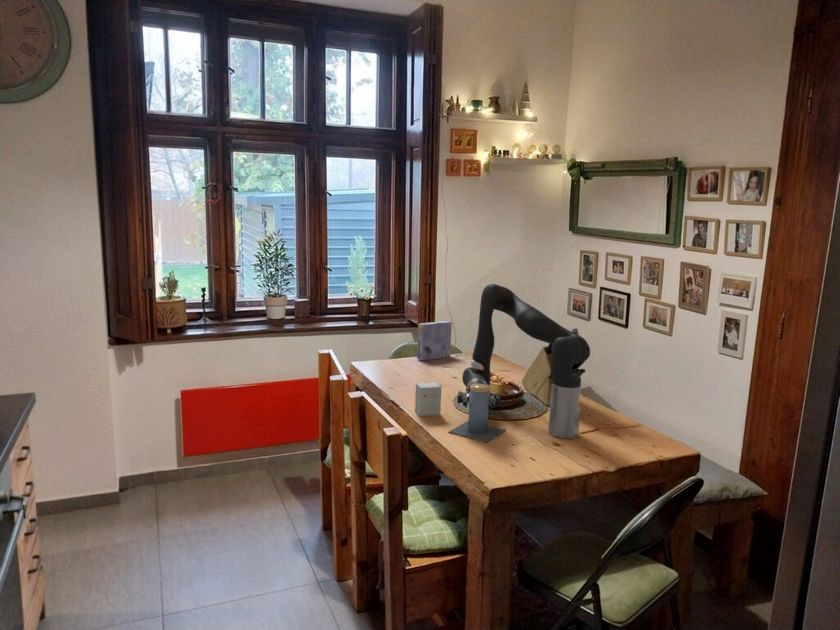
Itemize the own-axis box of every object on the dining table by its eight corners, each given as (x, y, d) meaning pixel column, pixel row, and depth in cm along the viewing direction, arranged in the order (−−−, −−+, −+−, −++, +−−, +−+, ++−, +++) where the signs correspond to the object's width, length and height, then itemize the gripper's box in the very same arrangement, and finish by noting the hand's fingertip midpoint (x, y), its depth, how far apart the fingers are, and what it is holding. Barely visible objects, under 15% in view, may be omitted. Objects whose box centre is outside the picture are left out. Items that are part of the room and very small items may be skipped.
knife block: (556, 414, 229) (563, 332, 224) (520, 386, 263) (526, 314, 258) (584, 414, 232) (592, 332, 226) (545, 386, 266) (551, 314, 260)
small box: (435, 409, 229) (436, 381, 228) (440, 414, 224) (442, 386, 222) (414, 411, 227) (415, 383, 225) (419, 416, 222) (420, 387, 220)
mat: (505, 430, 211) (505, 429, 211) (486, 443, 200) (486, 441, 200) (469, 421, 219) (469, 420, 219) (448, 432, 207) (448, 431, 207)
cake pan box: (445, 354, 313) (447, 319, 310) (452, 356, 309) (454, 321, 306) (415, 359, 301) (417, 323, 298) (422, 361, 297) (424, 325, 294)
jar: (490, 429, 211) (493, 385, 208) (482, 435, 205) (485, 390, 202) (472, 425, 214) (474, 382, 211) (464, 431, 208) (466, 387, 205)
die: (483, 377, 277) (495, 359, 279) (467, 366, 278) (479, 348, 280) (481, 378, 285) (492, 361, 287) (465, 368, 286) (476, 350, 288)
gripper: (458, 379, 221) (458, 393, 205) (498, 381, 221) (501, 395, 205) (456, 399, 223) (456, 415, 207) (497, 402, 222) (500, 417, 206)
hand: (479, 405), depth 206 cm, fingers open, 8 cm apart
